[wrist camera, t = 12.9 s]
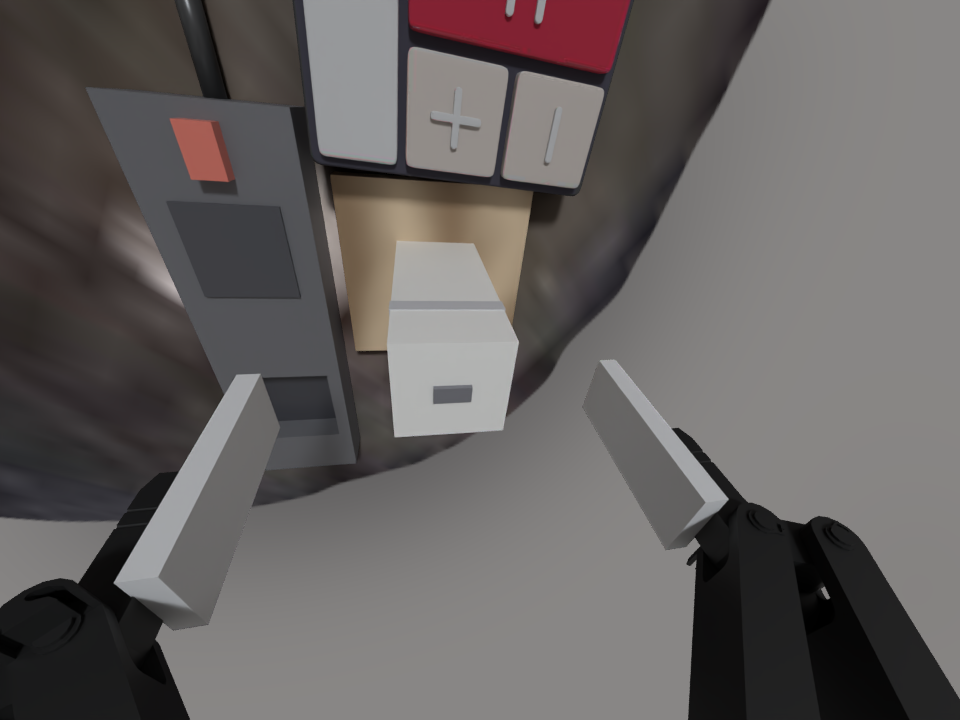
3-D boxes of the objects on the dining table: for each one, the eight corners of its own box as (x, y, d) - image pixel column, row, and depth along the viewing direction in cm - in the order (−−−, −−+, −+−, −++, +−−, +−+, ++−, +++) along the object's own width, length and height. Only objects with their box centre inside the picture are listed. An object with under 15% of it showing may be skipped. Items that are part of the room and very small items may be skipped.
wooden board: (357, 342, 27) (355, 350, 26) (333, 171, 20) (329, 174, 20) (505, 340, 30) (508, 348, 29) (528, 184, 23) (534, 188, 22)
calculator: (585, 200, 21) (308, 166, 17) (556, 186, 24) (321, 155, 20) (668, -85, 14) (258, -243, 11) (614, -50, 18) (289, -160, 14)
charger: (399, 311, 25) (393, 441, 15) (395, 239, 22) (385, 345, 12) (469, 311, 26) (504, 434, 16) (474, 242, 23) (521, 343, 13)
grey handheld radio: (360, 437, 34) (355, 470, 31) (270, 443, 32) (255, 478, 29) (279, -47, 15) (247, -84, 12) (62, -84, 14) (-34, -136, 11)
